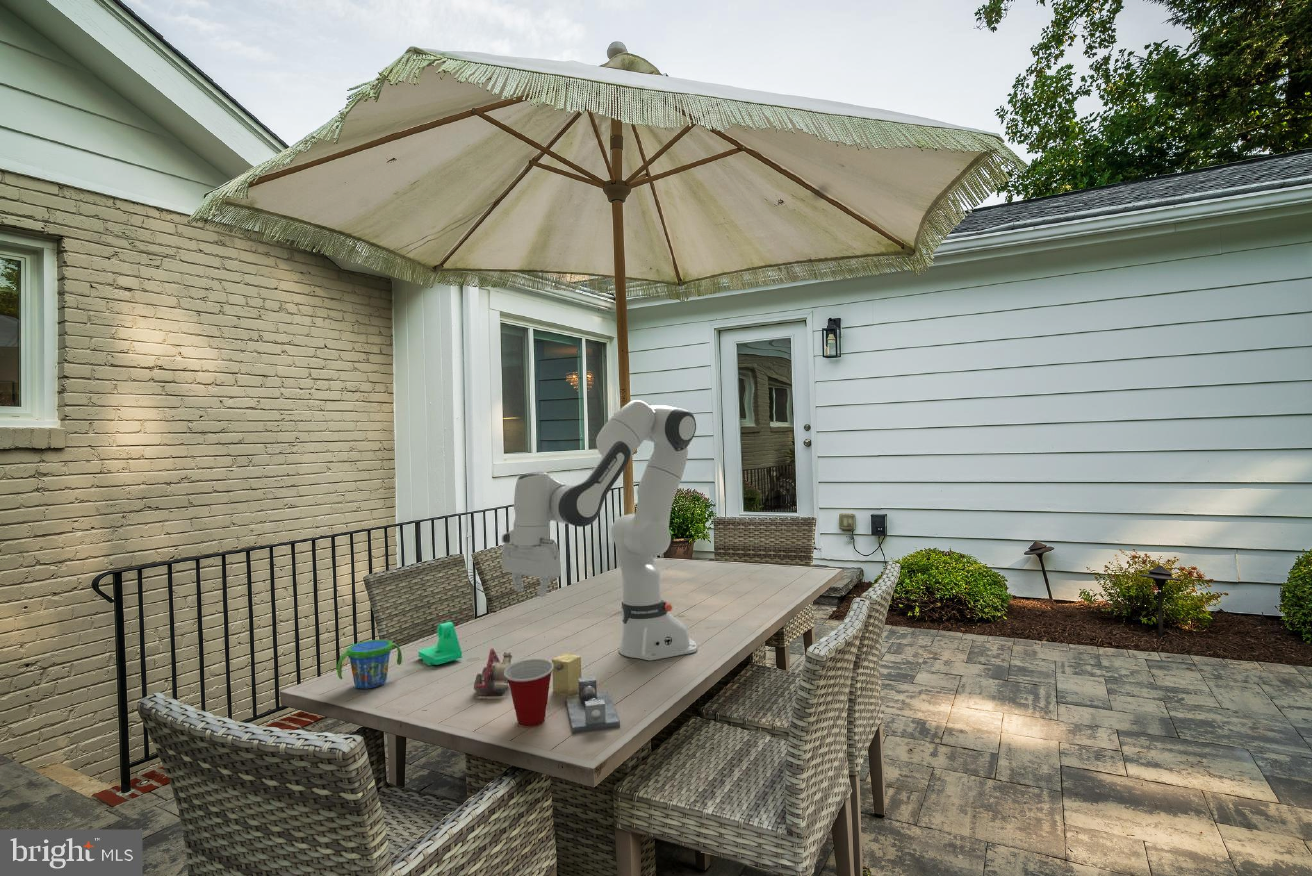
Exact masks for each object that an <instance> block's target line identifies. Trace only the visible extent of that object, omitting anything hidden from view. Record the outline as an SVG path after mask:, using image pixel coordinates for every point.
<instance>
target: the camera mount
mask: <svg viewBox="0 0 1312 876" xmlns="http://www.w3.org/2000/svg"><path fill="white" fill-rule="evenodd" d="M436 634H437V637H438V642H437V645H434V646H429V647H426V648H422V649H419V650H418V651H417V653H418V657H419V658H420V659H422V662H423V663H425V664H427V665H429V666H430V667H431V666H433V665H438V666H439V665H441V664H446V663H449V662H452V661H457V660H459V659H462V658H463V652H462V648H461V646H460V642H459V638H458V635H457V632H456V629H455V625H454V623H453V622H451V621H447V622H444V623H439V624H437V627H436Z"/></svg>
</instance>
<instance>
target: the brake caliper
mask: <svg viewBox="0 0 1312 876" xmlns="http://www.w3.org/2000/svg"><path fill="white" fill-rule="evenodd" d="M502 656H503V658H502V662H501V661H500V659H499V657H498V654H497V652H496V651H495V649H494V648H493V647H492V648H490V649H489V655H488V659H487V663H486V666H484V667H483V668H482V672H481V673H479V672H478V673H477V674H476V677H475V680H474V684H473V690H474V691H475V692H476V693H477V694H478V696H477V699H486V700H491V699H506V698H508V696H507V695H506V696H505V695H504V696H502V695H503V694H504V693H505V692H506V689H508V687H509V683H508V681H507V678H506V677H505V676H504V670H505V669H506V668H507V667H508V666H510V665H511V662H512V658H513V654H512V652H511V651H509V652H507V650H505V651H504V652H503V655H502Z"/></svg>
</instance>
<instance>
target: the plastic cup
mask: <svg viewBox="0 0 1312 876" xmlns="http://www.w3.org/2000/svg"><path fill="white" fill-rule="evenodd" d="M553 668H554V665H553V663H552V660H551V661H550V660H549V659H545V658H529V659H522V660H518V661H517V662H513V663H512V664H510V666H508V667H507V668H506V669H505V670H504V676H505V677H506V678H507V681H508V687H509V689H510V690H509V691H510V694H511V699H512V704H513V708H514V710H515V716H516V720H517V723H518V725H519V726H521V727H524V728H531V727H536V726H539V725H542V724H543V723H544V721H545V718H546V712H547V706H548V698H549V690H550V683H551V679H552V678H551V676H552V670H553Z"/></svg>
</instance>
